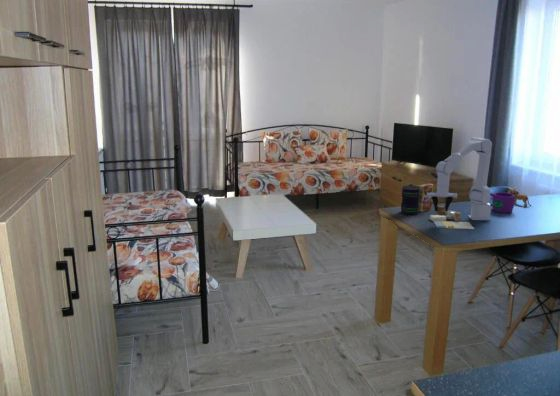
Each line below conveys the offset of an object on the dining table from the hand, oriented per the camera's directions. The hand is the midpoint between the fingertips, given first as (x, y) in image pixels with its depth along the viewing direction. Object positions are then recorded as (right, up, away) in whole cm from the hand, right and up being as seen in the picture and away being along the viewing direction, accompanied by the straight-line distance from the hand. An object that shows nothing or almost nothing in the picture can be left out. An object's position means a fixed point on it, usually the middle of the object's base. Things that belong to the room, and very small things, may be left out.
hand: (440, 210), depth 242 cm
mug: (+42, -1, +28) cm, 51 cm away
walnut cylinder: (0, -2, 0) cm, 2 cm away
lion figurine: (+60, +3, +40) cm, 72 cm away
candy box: (0, -1, +29) cm, 29 cm away
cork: (+12, -6, +8) cm, 15 cm away
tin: (+10, -4, +14) cm, 18 cm away
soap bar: (+2, -6, +11) cm, 12 cm away
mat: (+7, -8, +1) cm, 10 cm away
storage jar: (-10, -2, +24) cm, 26 cm away
